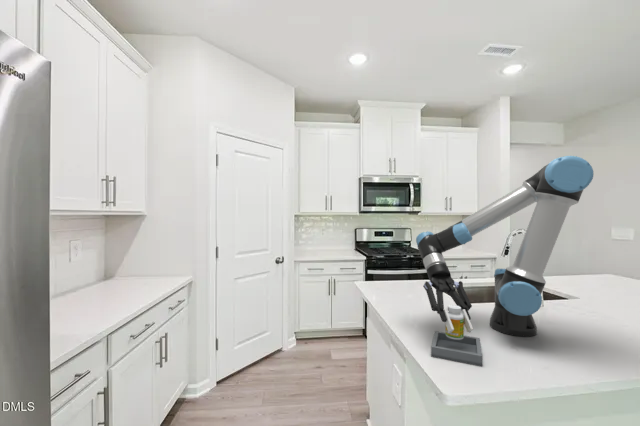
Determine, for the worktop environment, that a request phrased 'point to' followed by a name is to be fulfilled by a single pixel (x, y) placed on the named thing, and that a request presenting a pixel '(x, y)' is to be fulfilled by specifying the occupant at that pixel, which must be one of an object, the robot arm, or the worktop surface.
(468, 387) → the worktop surface
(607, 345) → the worktop surface
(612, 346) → the worktop surface
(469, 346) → the tray
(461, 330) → the supplement bottle
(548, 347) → the worktop surface
